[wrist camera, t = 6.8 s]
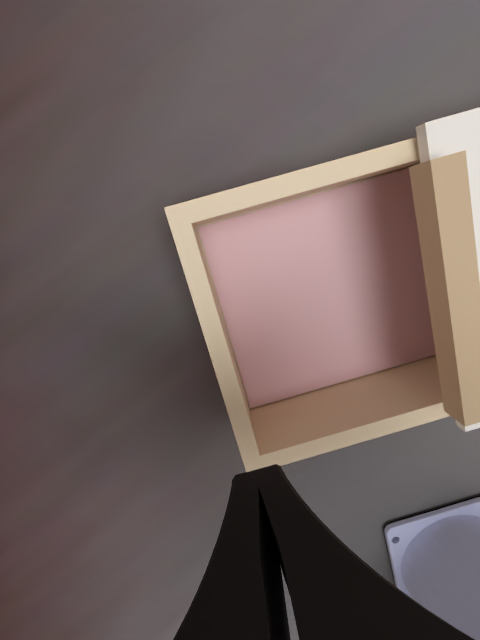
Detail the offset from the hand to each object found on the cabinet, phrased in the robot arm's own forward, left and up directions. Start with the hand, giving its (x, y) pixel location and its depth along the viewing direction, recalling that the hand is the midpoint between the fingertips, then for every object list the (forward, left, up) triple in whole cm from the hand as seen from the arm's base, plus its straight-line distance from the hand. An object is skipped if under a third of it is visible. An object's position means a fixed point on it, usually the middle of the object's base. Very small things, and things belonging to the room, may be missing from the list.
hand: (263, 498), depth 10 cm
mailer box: (+3, -8, -10) cm, 14 cm away
